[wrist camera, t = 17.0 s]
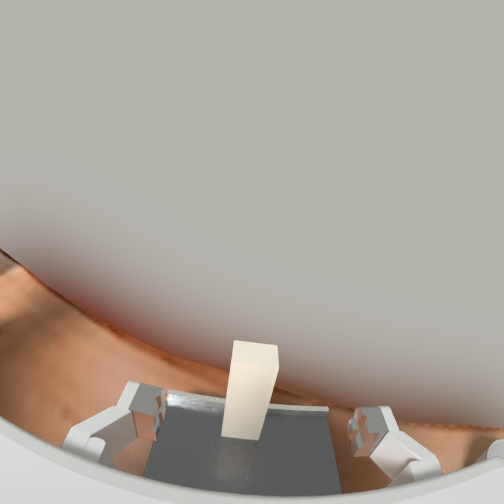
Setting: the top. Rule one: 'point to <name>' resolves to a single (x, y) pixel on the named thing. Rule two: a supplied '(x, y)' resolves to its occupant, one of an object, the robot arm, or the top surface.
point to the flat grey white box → (244, 450)
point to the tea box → (249, 389)
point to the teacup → (493, 451)
